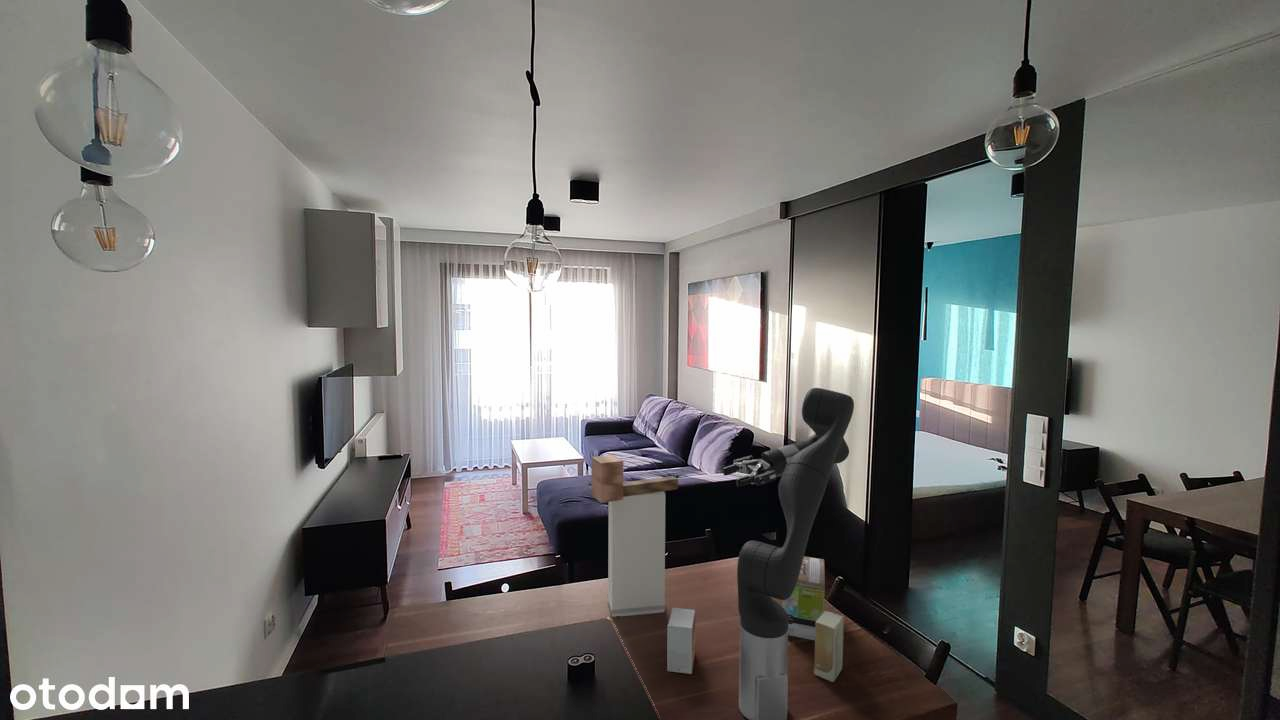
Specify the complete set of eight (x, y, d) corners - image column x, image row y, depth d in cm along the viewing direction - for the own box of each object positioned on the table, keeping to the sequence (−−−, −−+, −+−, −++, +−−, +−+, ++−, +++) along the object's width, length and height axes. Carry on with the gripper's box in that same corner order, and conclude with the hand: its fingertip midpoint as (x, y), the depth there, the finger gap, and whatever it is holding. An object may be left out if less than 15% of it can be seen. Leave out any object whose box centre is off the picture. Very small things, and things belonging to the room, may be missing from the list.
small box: (691, 675, 115) (692, 628, 114) (666, 671, 116) (666, 625, 115) (695, 653, 122) (696, 609, 122) (671, 650, 124) (672, 606, 123)
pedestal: (658, 596, 148) (659, 484, 146) (665, 612, 140) (666, 494, 138) (607, 601, 145) (607, 487, 143) (611, 617, 137) (611, 497, 135)
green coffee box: (823, 643, 127) (825, 583, 126) (780, 635, 130) (781, 576, 129) (823, 611, 141) (824, 557, 140) (784, 604, 144) (785, 552, 143)
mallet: (669, 484, 147) (669, 448, 146) (681, 491, 140) (682, 454, 140) (591, 494, 137) (591, 456, 136) (601, 502, 131) (601, 463, 130)
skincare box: (823, 660, 120) (825, 608, 119) (843, 668, 117) (844, 615, 116) (812, 675, 115) (814, 621, 114) (832, 683, 112) (834, 628, 111)
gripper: (767, 441, 154) (716, 456, 150) (793, 456, 141) (739, 474, 137) (770, 464, 156) (721, 480, 152) (797, 482, 142) (744, 500, 138)
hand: (729, 477), depth 144 cm, fingers open, 8 cm apart
